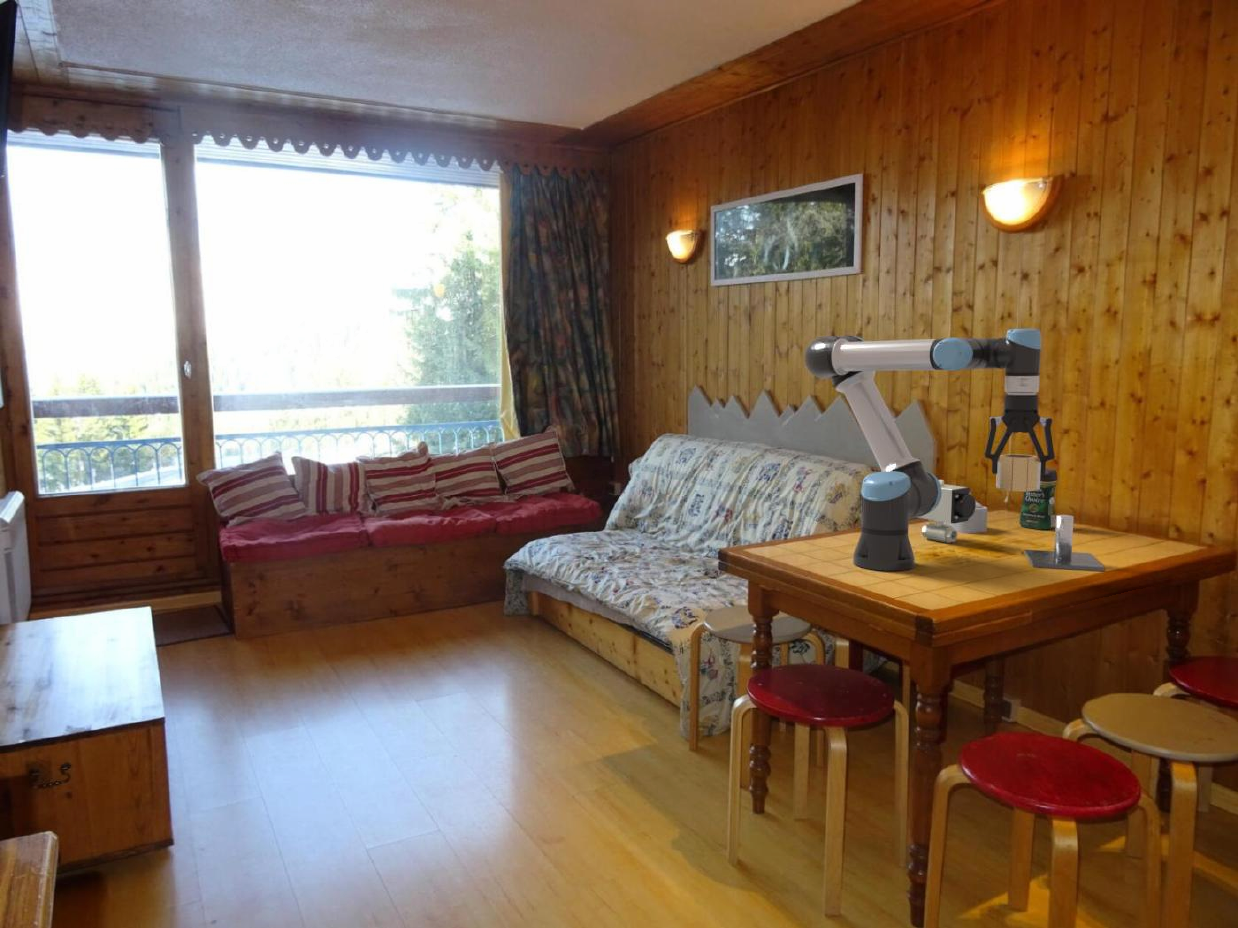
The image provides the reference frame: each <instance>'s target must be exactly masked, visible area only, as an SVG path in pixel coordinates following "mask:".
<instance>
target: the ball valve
mask: <svg viewBox="0 0 1238 928" xmlns="http://www.w3.org/2000/svg"><path fill="white" fill-rule="evenodd" d="M938 480H939V482H940V485H941V489H942V495H941V499H940V502H939V504H938V506H937V507H936V508H935V509H934V510H933V511H931V512H930V513H927V514H925V515H924V516H921V517H916V518H918V519H923V520H924V519H925V520H928V524H924V525H923V526H922V528H921V529H922V530H921V534H922V536H923V537H924V538H926V539H927V540H931V541H935V542H940V543H941V542H942V543H947V544H950V543H954V542H956V541H957V538H958V532H957V531H956V529H953V527H952V526H950V525H948V524H944V522H947V523H953V524H955V523H960V522H965V521H968V520H969V518H970V517H971V516H972V515H973V514H974V511H975V507H976V502H975V501H976V499H975V497H974V496H973V494H972V493H971V487H968V486H961V485H960V486H959V485H954V484H953V485H952V484H945V480H944V479H938ZM932 522H935V523H932Z"/></svg>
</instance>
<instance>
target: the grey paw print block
mask: <svg viewBox="0 0 1238 928" xmlns="http://www.w3.org/2000/svg"><path fill="white" fill-rule="evenodd" d="M975 502H976V507H975V511H974V514H973V515H972V516H971V517H970V518H969V520H968V521H965V522H960V523H955V524H953V523H947V522H944V524H948V525H950V526H952V527H953V529H956V531H957V533H961V534H977V533H985V532H987V530H988V529H987V528H988V527H987V525H988V507H986V506H983V505H982V504H981V503H979V502H978V501H977V500H975Z"/></svg>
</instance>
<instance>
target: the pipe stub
mask: <svg viewBox="0 0 1238 928" xmlns="http://www.w3.org/2000/svg"><path fill="white" fill-rule="evenodd" d="M1074 520H1075V519H1074V516H1073V515H1069V514H1055V533H1054V550H1040V549H1039V550H1037V549H1036V550H1035V549H1024V555H1025V556H1026V558H1027V560H1028V561H1029V564H1030V565H1031V566H1032V568H1043V569H1058V570H1059V569H1062V570H1075V571H1076V570H1078V571H1092V572H1093V571H1095V572H1104V569H1105V567H1104V566H1103V564H1101V562H1100V561H1099V560H1098V559H1097V558H1096V557H1095V556H1094V554H1092V553H1091V552H1077V551H1076V552H1075V551H1072V550H1073V534H1074V533H1073V532H1074Z"/></svg>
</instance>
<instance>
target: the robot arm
mask: <svg viewBox="0 0 1238 928" xmlns="http://www.w3.org/2000/svg"><path fill="white" fill-rule="evenodd" d="M1041 337H1042V335H1041V331H1040V330H1039V329H1037V328H1011V329H1008V330H1007V332H1006V335H1005V336H1004V337H953V336H952V337H947V338H925V339H924V338H922V339H918V338H917V339H898V340H897V339H894V340H868V341H866V340H865V339H863V338H861V337H859V336H855V335H851V334H850V335H849V334H847V335H840V336H838V335H823V336H819V337H816V338H815V339H813V340H812V341H811V342H810V343H809V344H808V345H807V347H806V349H805V351H804V358H803V359H804V363H805V367H806V369H807V370H808V371H809V373H810V374H811V375H813V376H814V377H817V378H820V379H823V380H825V379H826V380H829V379H830V380H831V382H832V385H833V386H834V388H835V390H836V392H839V393H842V394H844V396H845V399H846V400H847V402H848V405H849V406H850V408H851V411H852V413H853V415H854V417H855V419H856V420H857V423H858V424H859V427H860V429H861V431H862V433H863V436H864V437H865V440H866V441H867V443H868V445H869V447H870V449H871V451H872V454H873V455H874V458H875V460H876V462H877V464H878V466H879V468H880V470H881V471H878V472H873V473H870V474H868V475H866V476H865V477H863V480H862V485H861V487H862V488H861V493H860V494H861V512H860V513H861V520H860V523H861V524H860V526H861V527H860V536H859V538H858V541H857V543H856V545H855V549H854V553H853V561H852V562H853V564H854V565H855V566H857V567H860V568H863V569H867V570H875V571H887V572H888V571H889V572H893V571H894V572H895V571H898V572H899V571H906V570H910V569H913V568H914V567H915V555H914V551H913V547H912V545H911V540H910V537H909V523H910V521H909V520H910V519H914V518H917V517H921V516H924V515H925V514H927V513H930V512H931V511H933V510H934V509H935V508H936V507H937V506H938V504H939V502H940V499H941V495H942V489H941V485H940V482H939V480H940V479H938V478H937V477H936V475H934V474H933V473H931V472H929V471H927V470H926V469H925V467H924V465H923V463H922V461H921V460H920V459H918V458H916V457H913V456H912V454H911V452H910V450H909V449H908V447H907V445H906V443H905V440H904V438H903V436H902V435H901V432H900V431H899V430H900V429H898V426H897V425H896V422H895V421H894V419H893V416H892V415H891V412H890V410H889V408H888V406H887V404H886V402H885V401H884V399H883V397H882V395H881V393H880V391H879V390H880V389H878V387H877V385H876V382H875V381H874V378H875V375H876V372H877V371H878V372H882V371H883V372H885V371H886V372H887V371H897V372H899V371H949V372H950V371H952V372H953V371H962V370H963V371H965V370H988V369H989V370H991V369H994V370H995V369H997V370H998V369H999V370H1005V372H1004V373H1005V376H1004V392H1005V393H1006V394H1005V395H1004V398H1003V413H1002V415H1001V416H997V417H993V416H991V417H990V418H989V425H990V427H989V432H988V436H987V441H986V445H985V448H984V449H985V450H984V454H983V455H984V457H985V458H986V459H989V460H991V473H992V474H993V475H996V477H995V478H996V479H995V480H996V481H995V482H996V484H995V487H996V489H1000V477H1001V461H1000V455H1002V453H1003V450H1004V449H1005V447H1006V445H1007V444H1008V441H1009V439H1010V437H1011V436H1012V434H1013V433H1014V434H1018V433H1022V434H1028V436H1029V438H1030V440H1031V443H1032V445H1033V448H1034V449H1035V452H1036V454H1037V455H1036V456H1037V457H1038V459H1039V460H1038V464H1037V486H1036V489H1040V475H1045V470H1046V469H1047V467H1046V466H1047V462H1048V461H1050V460H1054V459H1055V451H1054V450H1055V449H1054V443H1053V442H1054V441H1053V437H1052V436H1053V435H1052V430H1051V428H1052V425H1053V420H1052V418H1050V417H1043V416H1040V414H1039V396H1040V395H1039V396H1038V394H1037V393H1039V391H1040V374H1041V373H1040V372H1041V371H1040V370H1041V354H1042V338H1041ZM1001 422H1003V424H1004V425H1005V428H1006V429H1005V431H1004V433H1003V435H1002V437H1001V439H1000V441H999V442H998V445H997V447H996V448H995V451H994V452H993V453H992V450H993V446H994V441H995V438H996V433H997V427H998V426H1000V423H1001ZM1039 422H1040V425H1041V426H1042V427H1043V433H1044V434H1043V435H1044V439H1045V440H1044V441H1045V447H1046V453H1047V454H1045V453H1044V451H1043V448H1042V447H1041V443H1040V442H1039V439H1038V437H1037V435H1036V433H1035V430H1034V428H1035V426H1037V424H1038V423H1039Z"/></svg>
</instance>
